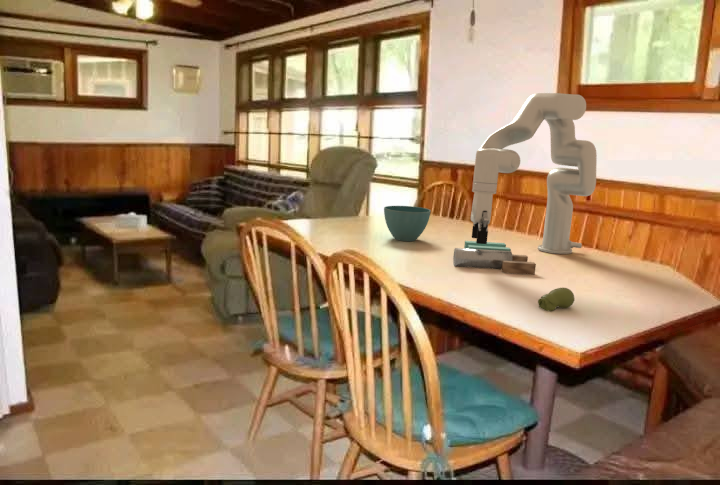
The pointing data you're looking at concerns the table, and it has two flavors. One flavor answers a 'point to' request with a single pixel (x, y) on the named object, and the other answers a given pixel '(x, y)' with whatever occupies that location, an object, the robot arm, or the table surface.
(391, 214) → the teal bowl
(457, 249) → the steel axle
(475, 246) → the teal V-block
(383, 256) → the table surface
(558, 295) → the pear
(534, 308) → the table surface
